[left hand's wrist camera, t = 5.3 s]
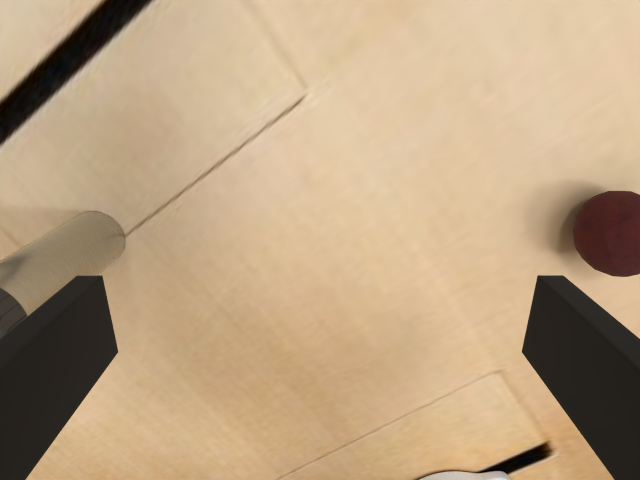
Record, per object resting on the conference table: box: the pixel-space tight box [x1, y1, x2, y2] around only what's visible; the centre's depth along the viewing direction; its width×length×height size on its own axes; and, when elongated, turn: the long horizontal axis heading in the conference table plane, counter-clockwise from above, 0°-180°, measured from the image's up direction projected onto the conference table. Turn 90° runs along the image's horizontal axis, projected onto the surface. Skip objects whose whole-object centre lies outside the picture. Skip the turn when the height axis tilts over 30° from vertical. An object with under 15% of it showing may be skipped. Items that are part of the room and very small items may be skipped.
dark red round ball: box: [573, 191, 640, 277], centre depth 38 cm, size 7×8×7 cm
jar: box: [0, 211, 125, 316], centre depth 34 cm, size 5×5×17 cm
